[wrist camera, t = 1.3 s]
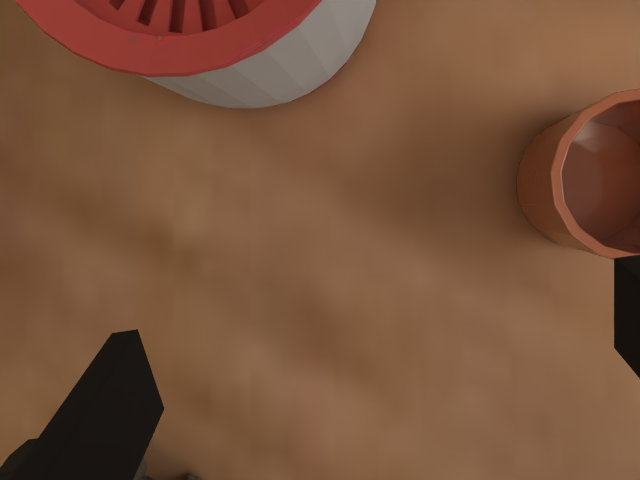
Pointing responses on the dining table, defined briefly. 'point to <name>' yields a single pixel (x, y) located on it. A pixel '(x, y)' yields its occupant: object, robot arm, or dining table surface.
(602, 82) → the dining table surface
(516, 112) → the dining table surface
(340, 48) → the citrus juicer
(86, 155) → the dining table surface
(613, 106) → the terracotta cup
